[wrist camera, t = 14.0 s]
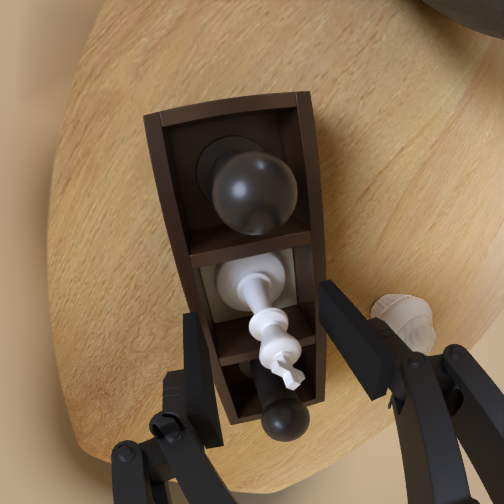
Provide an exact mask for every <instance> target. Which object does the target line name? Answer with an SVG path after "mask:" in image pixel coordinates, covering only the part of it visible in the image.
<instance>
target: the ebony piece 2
mask: <svg viewBox="0 0 504 504" xmlns="http://www.w3.org/2000/svg"><path fill="white" fill-rule="evenodd" d="M238 366H239V369H240V371H241V372H242V373H243V374H244V375H245V376H247V377H249V378H252V379H254V382H255V386H256V389H257V393H258V397H259V400H260V404H261V407H262V411H263V413H262V417H261V423H262V427H263V429H264V431H265V432H266V434H267V435H268V436H269V437H271V438H272V439H274V440H277V441H281V442H288V441H293V440H295V439H297V438H299V437H300V436H302V435H303V434H304V433H305V432H306V430H307V428H308V426H309V423H310V415H309V411H308V409H307V407H306V406H305V405H304V404H303V403H302V402H301V401H300V400H299V399H298V396H297V394H296V391H295V390H291V389H288V388H286V385H285V383H284V380H283V377H281V376H278V375H276V374H274V373H272V371H271V369H268V368H266V367H264V366H263V365H262V364H261V362H260V359H259V358H258V359H254V360H249V361H245V362H240V363H238Z"/></svg>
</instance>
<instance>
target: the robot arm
mask: <svg viewBox="0 0 504 504" xmlns="http://www.w3.org/2000/svg"><path fill="white" fill-rule="evenodd" d="M318 295H319V322H320V323H321V325H322V326H323V328H324V329H325V331H326V332H327V334H328V335H329V337H330V338H331V340H332V341H333V343H334V344H335V346H336V347H337V349H338V350H339V352H340V353H341V355H342V356H343V358H344V359H345V361H346V362H347V364H348V365H349V367H350V368H351V370H352V371H353V373H354V375H355V376H356V378H357V379H358V381H359V382H360V384H361V385H362V387H363V388H364V390H365V391H366V393H367V394H368V396H369V397H370V399H371V401H373V400H375V399H377V398H380V397H382V396H384V395H386V392H387V389H388V387H389V389H390V390H391V392H392V395H391V398H390V401H389V404H388V409H390V408H391V405H392V406H393V410H394V415H395V420H396V425H397V430H398V436H399V441H400V447H401V453H402V460H403V466H404V473H405V480H406V489H407V498H408V504H480V503H479V502H478V501H477V500H475V499H473V498H472V497H471V495H470V491H469V486H468V481H467V477H466V472H465V468H464V464H463V459H462V455H461V452H460V448H459V444H458V441H457V438H458V440H459V442H460V443H461V445H462V447H463V448H464V450H465V452H466V454H467V455H468V457H469V459H470V461H471V463H472V464H473V466H474V468H475V470H476V472H477V474H478V475H479V477H480V479H481V481H482V483H483V485H484V487H485V489H486V491H487V493H488V495H489V496H490V499H491V500H492V502H493V504H504V395H503V393H502V392H501V391H500V389H499V388H498V387H497V386H496V384H495V383H494V382H493V381H492V379H491V378H490V377H489V376H488V375H487V373H486V372H485V371H484V370H483V369H482V367H481V366H480V365H479V364H478V363H477V361H476V360H475V359H474V358H473V357H472V355H470V353H469V352H468V351H467V350H466V349H465V348H464V347H463V346H461V345H458V344H451V345H448V346H447V347H445V349H444V351H443V354H440V355H434V356H426V355H425V354H423V353H421V352H418V351H415V352H413V351H412V350H411V349H410V348H409V347H408V346H407V345H406V344H405V342H404V341H403V340H402V339H401V338H400V337H399V336H398V335H397V334H395V332H394V331H393V330H392V329H391V327H390V326H389V325H388V324H387V323H386V322H385V321H383V320H381V319H379V318H377V317H374V318H372V319H369V320H367V319H366V318H365V317H364V316H363V315H362V314H361V312H360V311H359V310H358V309H357V308H356V307H355V306H354V305H353V303H352V302H351V301H350V300H349V299H348V298H347V297H346V296H345V295H344V294H343V292H342V291H341V290H340V289H339V288H338V287H337V286H336V285H335V284H334V283H333V281H332V280H331V279H329V280H326V281H322V282H318ZM183 350H184V369H182V370H176V371H170V372H167V374H166V376H165V378H164V380H163V410H162V411H161V412H159V413H157V414H156V415H154V416H153V418H152V419H151V421H150V424H149V429H150V431H151V433H152V434H153V435H154V436H155V437H154V438H152V439H150V440H147V441H145V442H142V443H139V444H137V443H136V442H133V441H130V440H125V441H122V442H119V443H118V444H117V445H115V447H114V448H113V450H112V455H111V461H112V485H113V498H114V504H172V501H171V496H170V491H169V486H168V480H170V479H173V478H176V480H177V481H178V483H179V485H180V487H181V489H182V491H183V493H184V495H185V496H186V498H187V500H188V502H189V503H190V504H238V502H237V501H236V500H235V498H234V497H233V495H232V494H231V492H230V491H229V489H228V488H227V486H226V485H225V484H224V482H223V481H222V479H221V478H220V476H219V474H218V473H217V471H216V470H215V468H214V467H213V465H212V464H211V462H210V460H209V459H208V457H207V456H206V454H205V451H204V446H205V447H206V449H208V448H214V447H220V446H224V444H223V438H222V433H221V427H220V421H219V415H218V409H217V403H216V396H215V390H214V383H213V376H212V369H211V362H210V355H209V348H208V345H207V342H206V339H205V336H204V333H203V329H202V326H201V323H200V320H199V316H198V313H197V311H195V312H190V313H186V314H183Z"/></svg>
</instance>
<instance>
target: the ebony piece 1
mask: <svg viewBox="0 0 504 504" xmlns="http://www.w3.org/2000/svg"><path fill="white" fill-rule="evenodd" d="M196 182H197V185H198V188H199V190H200V192H201V193H202V195H203V196H204V197H205V199H207V200H208V201H209V202H210V203H211V204H213V205H214V208H215V210H216V212H217V214H218V215H219V217H220V218H221V220H222V221H223V222H224V223H225V224H226V225H227V226H229V227H230V228H231V229H233V230H235V231H237V232H239V233H242V234H246V235H263V234H267V233H270V232H273V231H275V230H276V229H278V228H280V227H281V226H282V225H283V224H284V223H286V221H287V220H288V219H289V218H290V216H291V215H292V213H293V211H294V209H295V206H296V203H297V196H298V190H297V183H296V180H295V177H294V175H293V173H292V171H291V169H290V168H289V167H288V165H287V164H286V163H285V162H284V161H283V160H281V159H280V158H279V157H277V156H275V155H273V154H271V153H268V152H265V151H264V149H263V148H262V147H261V146H260V145H259V144H258V143H256V142H255V141H253V140H251V139H249V138H247V137H243V136H234V135H233V136H224V137H221V138H218V139H216V140H214V141H212V142H211V143H210V144H208V145H207V146H206V147H205V148H204V149H203V151H202V152H201V154H200V156H199V158H198V160H197V164H196Z"/></svg>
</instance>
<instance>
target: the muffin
mask: <svg viewBox="0 0 504 504" xmlns="http://www.w3.org/2000/svg"><path fill="white" fill-rule="evenodd" d="M374 317H377V318H379V319H381V320H383V321H385V322H386V323H387V324H388V325H389V326H390V327H391V329H392V330H393V331H394V332H395V334H397V335H398V336H399V337H400V338H401V339H402V340H403V341H404V342H405V344H406V345H407V346H408V347H409V348H410V349H411V350H412V351H413V352H415V351H418V352H421V353H423V354H425V355H426V356H427V354H429V353H430V351H431V350H432V349H433V346H434V344H435V339H436V333H435V330H434V328H433V326H432V320H433V315H432V310H431V307H430V306H429V304H428V303H427V302H426V301H425V300H423V299H421V298H419V297H415V296H413V295H405V294H386V295H384V296H382V297H381V298H379V300H377V302H375V304H374V305H373V307H372V309H371V314H370V319H372V318H374Z"/></svg>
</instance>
